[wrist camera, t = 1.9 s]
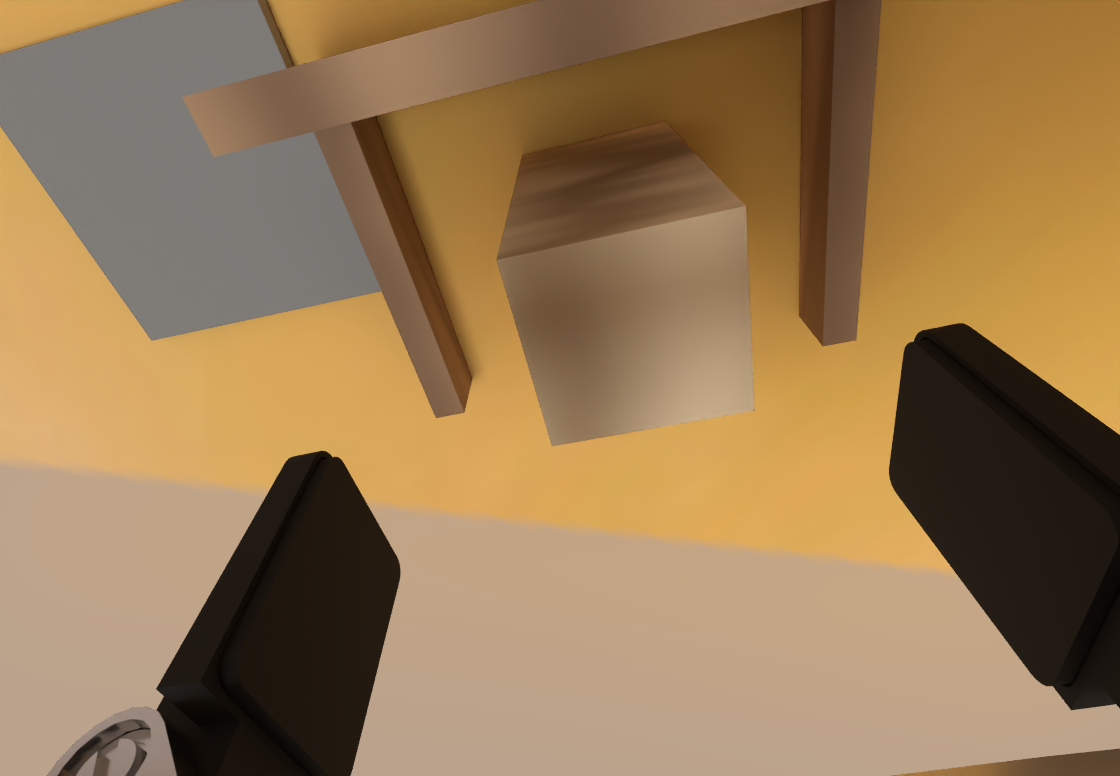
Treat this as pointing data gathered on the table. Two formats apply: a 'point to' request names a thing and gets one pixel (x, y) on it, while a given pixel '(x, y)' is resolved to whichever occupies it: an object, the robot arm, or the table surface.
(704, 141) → the table surface
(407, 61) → the wooden arch bench
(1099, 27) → the table surface
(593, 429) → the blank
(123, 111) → the coaster
